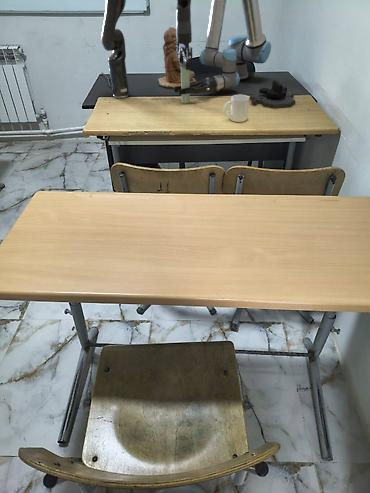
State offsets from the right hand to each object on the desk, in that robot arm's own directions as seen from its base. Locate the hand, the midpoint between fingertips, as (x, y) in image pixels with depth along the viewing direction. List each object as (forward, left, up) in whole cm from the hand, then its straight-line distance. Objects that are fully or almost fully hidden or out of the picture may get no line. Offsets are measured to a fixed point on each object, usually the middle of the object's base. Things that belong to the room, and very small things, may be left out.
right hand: (176, 91), depth 189 cm
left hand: (-5, +2, +11) cm, 12 cm away
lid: (-5, +2, +13) cm, 14 cm away
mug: (+3, +38, -7) cm, 39 cm away
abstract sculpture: (-30, +42, -7) cm, 53 cm away
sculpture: (-32, -24, -7) cm, 40 cm away
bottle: (-5, +2, -7) cm, 9 cm away
